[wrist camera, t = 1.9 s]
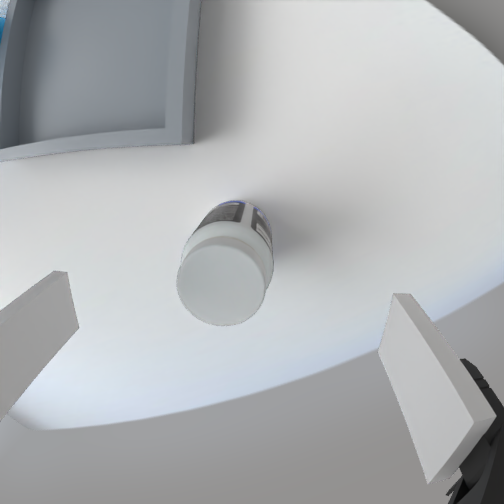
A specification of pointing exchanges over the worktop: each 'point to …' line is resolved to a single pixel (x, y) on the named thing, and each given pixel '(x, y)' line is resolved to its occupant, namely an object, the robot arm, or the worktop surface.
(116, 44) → the tray
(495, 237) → the worktop surface
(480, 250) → the worktop surface
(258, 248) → the pill bottle
